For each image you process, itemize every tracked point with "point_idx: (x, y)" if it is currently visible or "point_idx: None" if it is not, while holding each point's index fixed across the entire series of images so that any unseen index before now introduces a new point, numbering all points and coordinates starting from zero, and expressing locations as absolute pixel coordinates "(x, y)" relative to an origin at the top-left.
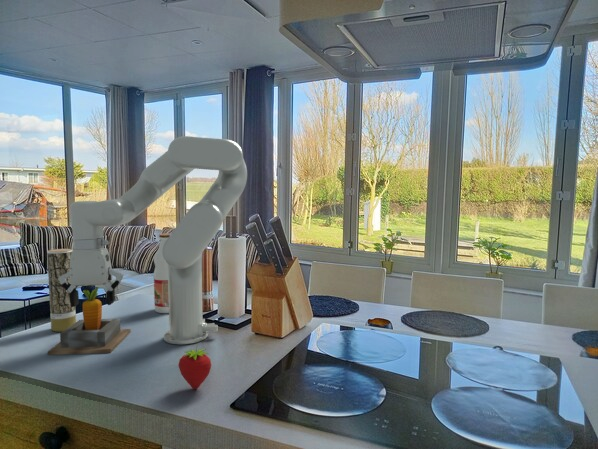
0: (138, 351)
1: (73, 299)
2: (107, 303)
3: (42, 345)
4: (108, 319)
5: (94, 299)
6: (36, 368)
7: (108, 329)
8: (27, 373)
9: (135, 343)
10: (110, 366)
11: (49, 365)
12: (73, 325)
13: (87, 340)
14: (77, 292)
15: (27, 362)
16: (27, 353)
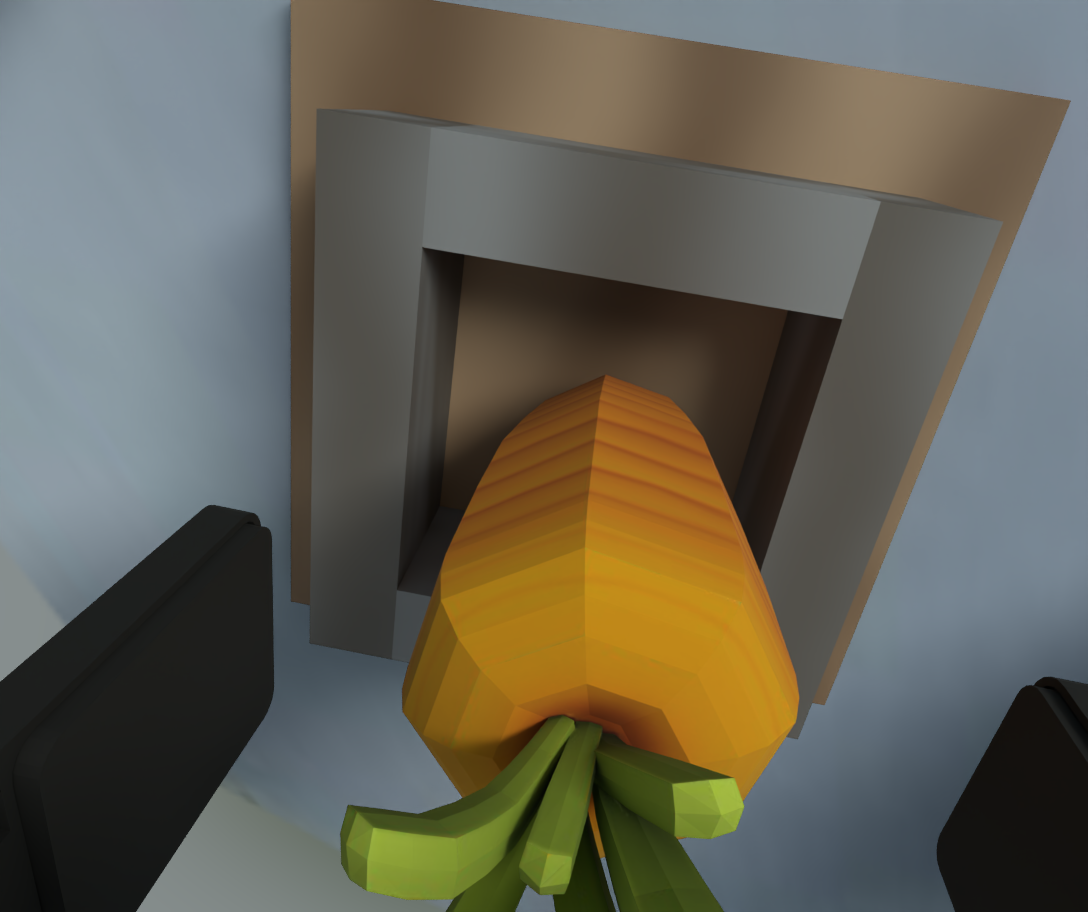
0: None
1: (183, 824)
2: (950, 876)
3: (124, 331)
4: (801, 217)
5: (634, 710)
6: (345, 778)
7: (830, 644)
8: (328, 826)
9: (1057, 528)
10: (831, 887)
11: (409, 761)
12: (340, 397)
13: None
14: (78, 770)
15: None
16: (114, 501)
